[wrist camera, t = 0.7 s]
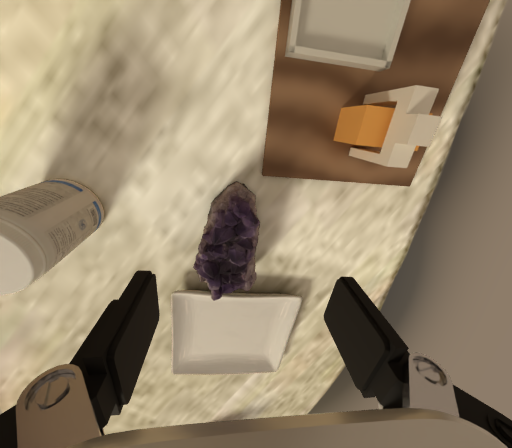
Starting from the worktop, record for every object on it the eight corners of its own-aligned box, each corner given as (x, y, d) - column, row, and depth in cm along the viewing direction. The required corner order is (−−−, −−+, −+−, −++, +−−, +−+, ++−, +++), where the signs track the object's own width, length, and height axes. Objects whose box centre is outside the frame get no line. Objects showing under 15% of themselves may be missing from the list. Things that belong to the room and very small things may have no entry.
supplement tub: (25, 201, 32) (-115, 255, 19) (64, 164, 31) (-59, 196, 18) (82, 242, 36) (-1, 310, 23) (120, 212, 35) (53, 267, 22)
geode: (195, 175, 34) (194, 193, 25) (263, 181, 37) (283, 199, 28) (192, 277, 42) (191, 317, 33) (248, 274, 45) (260, 310, 36)
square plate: (275, 359, 59) (277, 374, 55) (174, 360, 54) (170, 376, 51) (299, 286, 47) (305, 299, 44) (174, 279, 43) (169, 293, 39)
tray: (300, -68, 22) (306, -84, 21) (412, -40, 24) (426, -52, 23) (284, 56, 27) (288, 52, 25) (379, 71, 29) (389, 68, 27)
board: (288, -72, 23) (291, -79, 22) (491, -21, 27) (500, -26, 26) (261, 174, 35) (262, 175, 34) (405, 184, 38) (409, 186, 37)
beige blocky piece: (365, 94, 30) (431, 82, 20) (382, 97, 30) (455, 86, 21) (348, 155, 34) (397, 169, 24) (364, 156, 34) (418, 171, 24)
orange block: (341, 107, 30) (367, 104, 25) (395, 114, 32) (432, 113, 26) (333, 140, 32) (355, 144, 27) (385, 145, 34) (417, 151, 28)
